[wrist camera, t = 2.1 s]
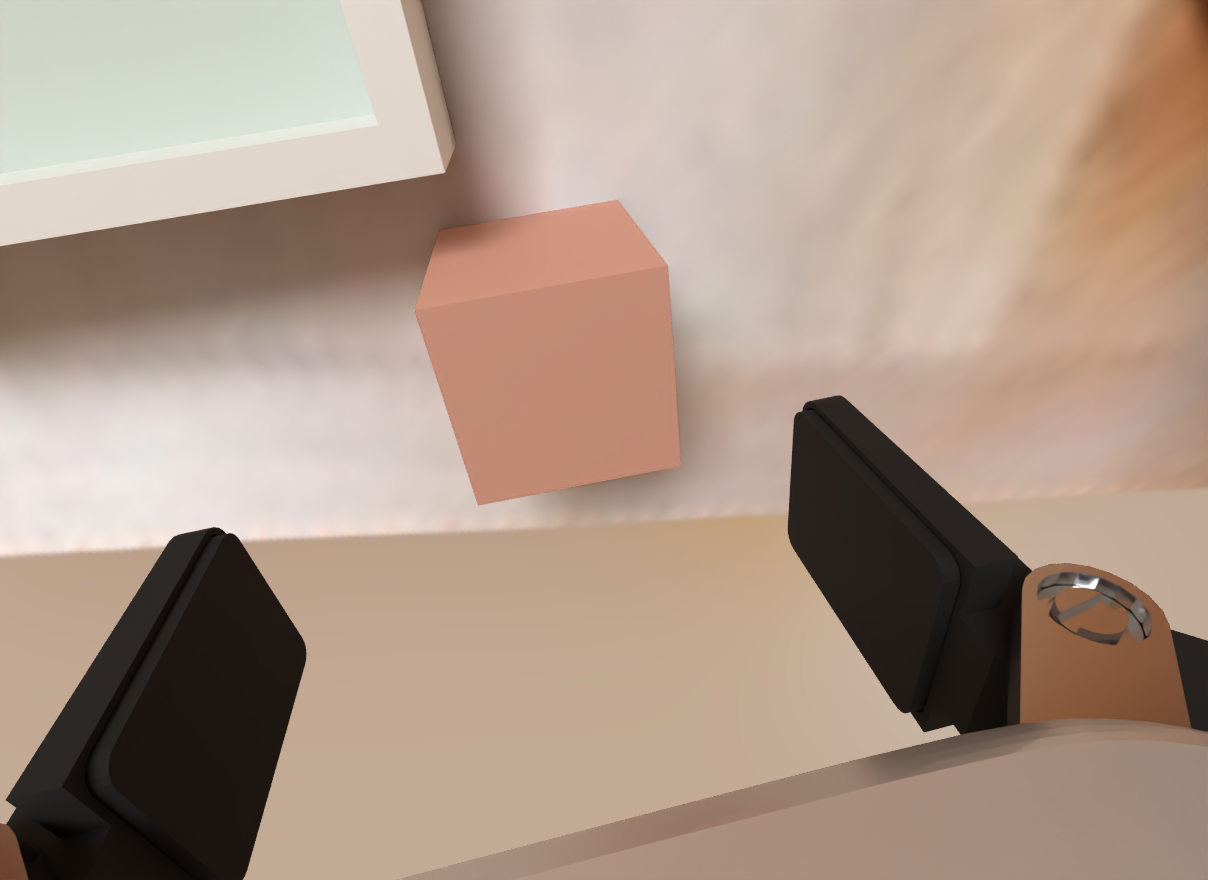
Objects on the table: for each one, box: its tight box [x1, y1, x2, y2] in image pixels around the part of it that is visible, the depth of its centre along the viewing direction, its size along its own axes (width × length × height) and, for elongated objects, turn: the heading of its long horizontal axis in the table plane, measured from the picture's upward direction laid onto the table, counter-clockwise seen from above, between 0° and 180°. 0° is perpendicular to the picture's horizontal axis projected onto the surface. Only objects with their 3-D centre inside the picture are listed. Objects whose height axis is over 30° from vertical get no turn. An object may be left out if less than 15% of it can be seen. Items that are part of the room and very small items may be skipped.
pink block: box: [415, 200, 681, 505], centre depth 15 cm, size 5×5×6 cm
